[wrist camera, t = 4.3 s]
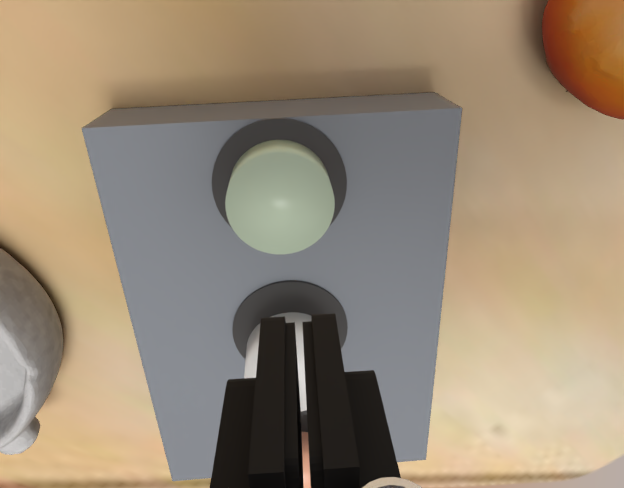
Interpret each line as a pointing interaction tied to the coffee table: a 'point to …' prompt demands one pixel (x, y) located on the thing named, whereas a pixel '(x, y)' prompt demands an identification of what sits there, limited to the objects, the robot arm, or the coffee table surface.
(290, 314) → the white button
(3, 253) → the dish
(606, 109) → the fruit
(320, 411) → the robot arm
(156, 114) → the console
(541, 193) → the coffee table surface
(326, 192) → the sage button
